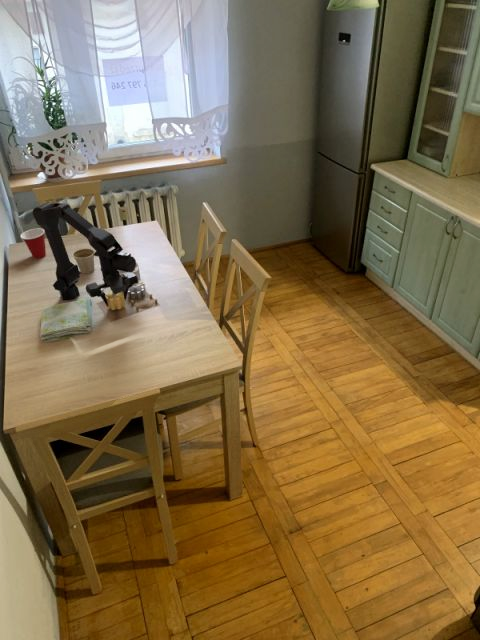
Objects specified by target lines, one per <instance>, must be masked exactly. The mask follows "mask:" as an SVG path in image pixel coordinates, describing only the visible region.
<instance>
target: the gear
mask: <svg viewBox="0 0 480 640" xmlns="http://www.w3.org/2000/svg"><path fill="white" fill-rule="evenodd" d="M144 290H145V288H144V287H143V286H140V285H137V286H134V285H133V286H132V287H130V288H129V290H128V297H129V298H132V299H137V298H138V299H140V298H141V297H142V296H145V291H146V290H145V291H144Z"/></svg>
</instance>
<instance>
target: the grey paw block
mask: <svg viewBox="0 0 480 640" xmlns="http://www.w3.org/2000/svg"><path fill="white" fill-rule="evenodd" d="M124 273H128V272H125V271H120V270H119V274H120V276H121V277H123V274H124ZM133 273H134V274H135V275H136V276H137V277H138V280H139V281H142V280H141V279H142V278H141V273H140V267H139V264H138V262H137V261H136V267H135V269H134V271H133Z"/></svg>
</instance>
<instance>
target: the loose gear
mask: <svg viewBox="0 0 480 640" xmlns="http://www.w3.org/2000/svg"><path fill="white" fill-rule="evenodd" d="M105 294H106V299H107V302H108V308H111V309H112V310H115V309H118V310H119V309H121V307H124V306H125V299H124V293H123V292H120V293H118V294H113V292H112V290H110V291H109V292H108V293H105Z"/></svg>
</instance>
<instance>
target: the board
mask: <svg viewBox="0 0 480 640" xmlns="http://www.w3.org/2000/svg"><path fill="white" fill-rule="evenodd" d="M144 291H145V296H142V297H141V298H140V299H138V298H137V299H132V298H129V297H128V293H127V297H126V301H125V306H124V307H121V309H119V310H118V309H115V310H112V309H111V308H108V307H107V306H106V304H105V302H104V301H103V300H101V301H98V302H96V303H95V304H96V305H97V306H98V308H99V309H100V310H101V311H102V313H103V314H104V315H105V316H106V317H107V319H108V320H109V321H110V322H111V323H112V322H115V321H118V320H120V319H124V318H127V317H129V316H132V315H135V314H137V313H142V312H144V311H146V310H149V309H152V308H153V309H154V308H155V307H158V306H160V303H159V302H158V299H157V298H153V294H152V293H151V294H150V293H148V292H147V290H146V289H144Z"/></svg>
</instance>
